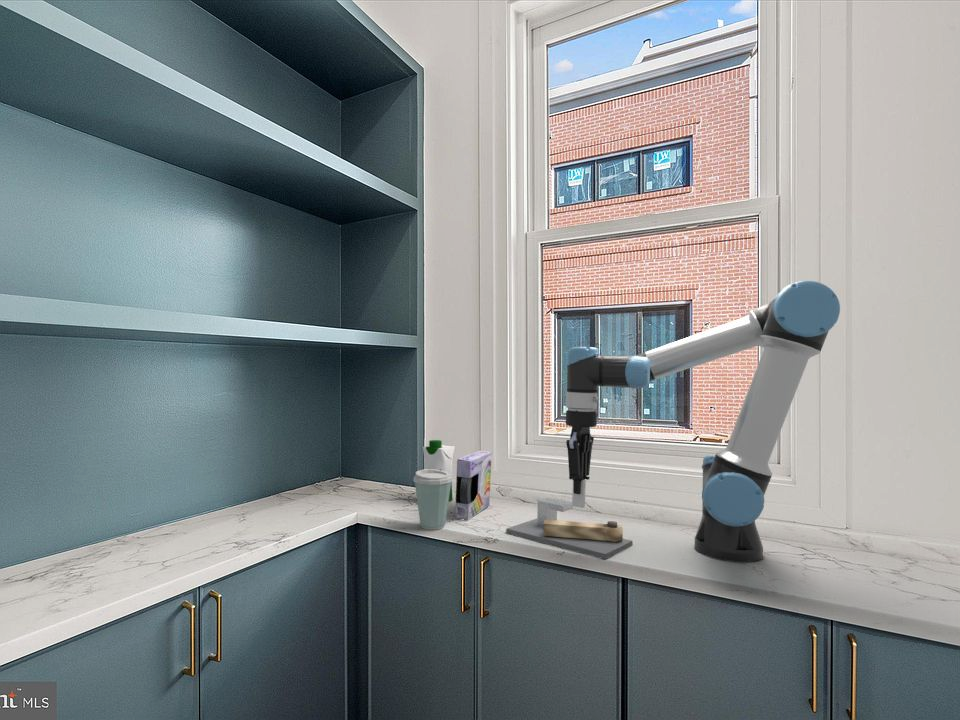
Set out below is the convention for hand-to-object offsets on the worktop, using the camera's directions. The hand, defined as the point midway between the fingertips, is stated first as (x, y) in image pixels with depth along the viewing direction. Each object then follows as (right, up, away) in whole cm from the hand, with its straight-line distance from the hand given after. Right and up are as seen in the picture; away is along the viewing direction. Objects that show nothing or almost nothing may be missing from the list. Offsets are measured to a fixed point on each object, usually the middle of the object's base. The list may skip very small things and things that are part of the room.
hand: (578, 506), depth 131 cm
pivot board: (-2, -10, +7) cm, 12 cm away
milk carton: (-38, -11, +45) cm, 60 cm away
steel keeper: (-4, -10, +14) cm, 18 cm away
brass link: (+2, -9, +4) cm, 10 cm away
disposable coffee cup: (-37, -10, +15) cm, 41 cm away
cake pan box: (-26, -11, +31) cm, 42 cm away
